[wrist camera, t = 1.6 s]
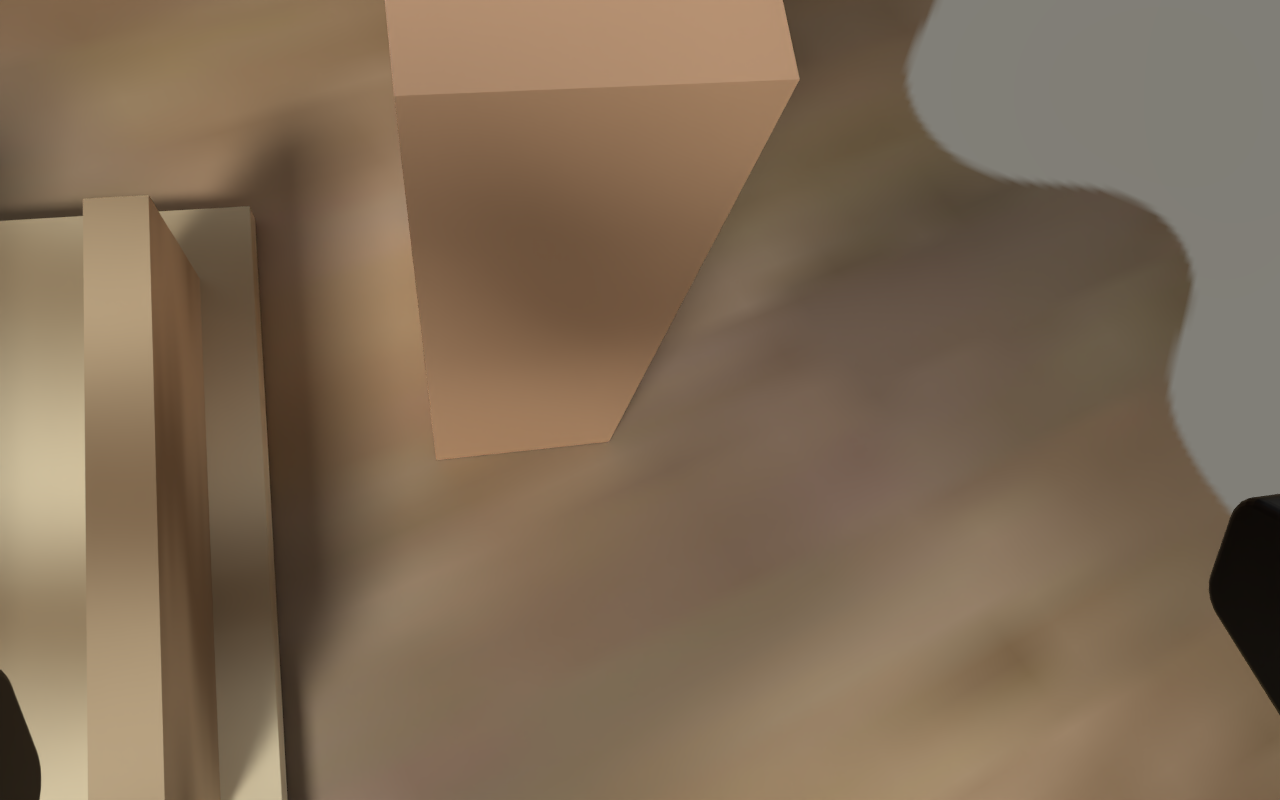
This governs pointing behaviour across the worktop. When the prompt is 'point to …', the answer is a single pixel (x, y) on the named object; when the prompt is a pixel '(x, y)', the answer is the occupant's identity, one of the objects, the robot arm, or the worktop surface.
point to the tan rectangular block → (568, 193)
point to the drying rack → (138, 504)
